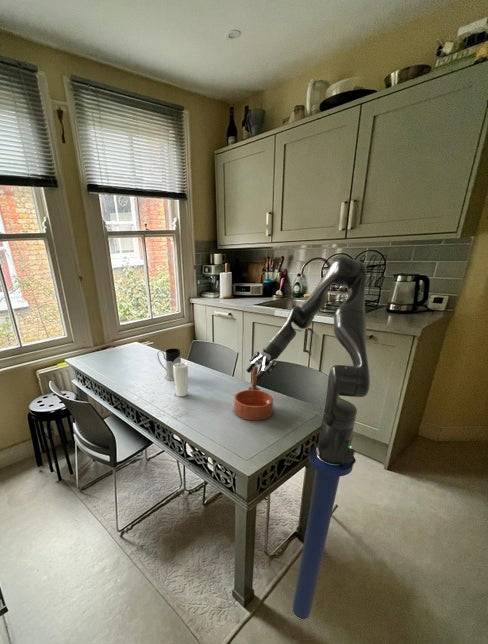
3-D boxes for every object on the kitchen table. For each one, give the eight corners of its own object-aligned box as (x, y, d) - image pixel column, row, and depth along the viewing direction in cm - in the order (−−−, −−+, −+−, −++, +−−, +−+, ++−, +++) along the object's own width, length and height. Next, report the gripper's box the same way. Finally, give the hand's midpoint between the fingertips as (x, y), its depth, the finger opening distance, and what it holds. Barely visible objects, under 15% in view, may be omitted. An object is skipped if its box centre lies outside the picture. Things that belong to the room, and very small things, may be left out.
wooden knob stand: (261, 394, 148) (263, 366, 142) (256, 398, 144) (257, 370, 138) (251, 391, 151) (252, 364, 145) (245, 395, 147) (247, 367, 141)
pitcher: (176, 381, 164) (175, 354, 157) (154, 377, 170) (152, 350, 164) (185, 375, 170) (184, 349, 164) (163, 371, 177) (161, 345, 171)
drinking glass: (175, 391, 154) (174, 362, 147) (189, 391, 153) (188, 362, 146) (173, 397, 148) (171, 367, 141) (187, 398, 147) (186, 368, 140)
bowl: (277, 409, 134) (279, 395, 132) (261, 425, 124) (262, 411, 121) (245, 399, 143) (246, 386, 141) (227, 413, 133) (227, 400, 130)
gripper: (290, 356, 137) (265, 385, 138) (271, 346, 149) (248, 373, 150) (281, 346, 133) (256, 376, 134) (262, 337, 145) (239, 365, 147)
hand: (252, 374), depth 142 cm, fingers open, 7 cm apart
